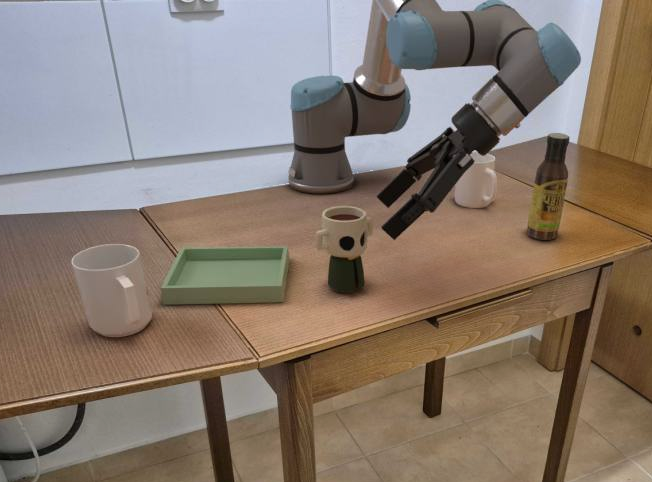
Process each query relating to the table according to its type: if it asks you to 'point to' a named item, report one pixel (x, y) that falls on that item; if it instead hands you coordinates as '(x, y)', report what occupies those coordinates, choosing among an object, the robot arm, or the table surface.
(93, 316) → the mug
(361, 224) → the character mug
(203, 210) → the table surface
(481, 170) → the cup
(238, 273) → the tray
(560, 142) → the sauce bottle
